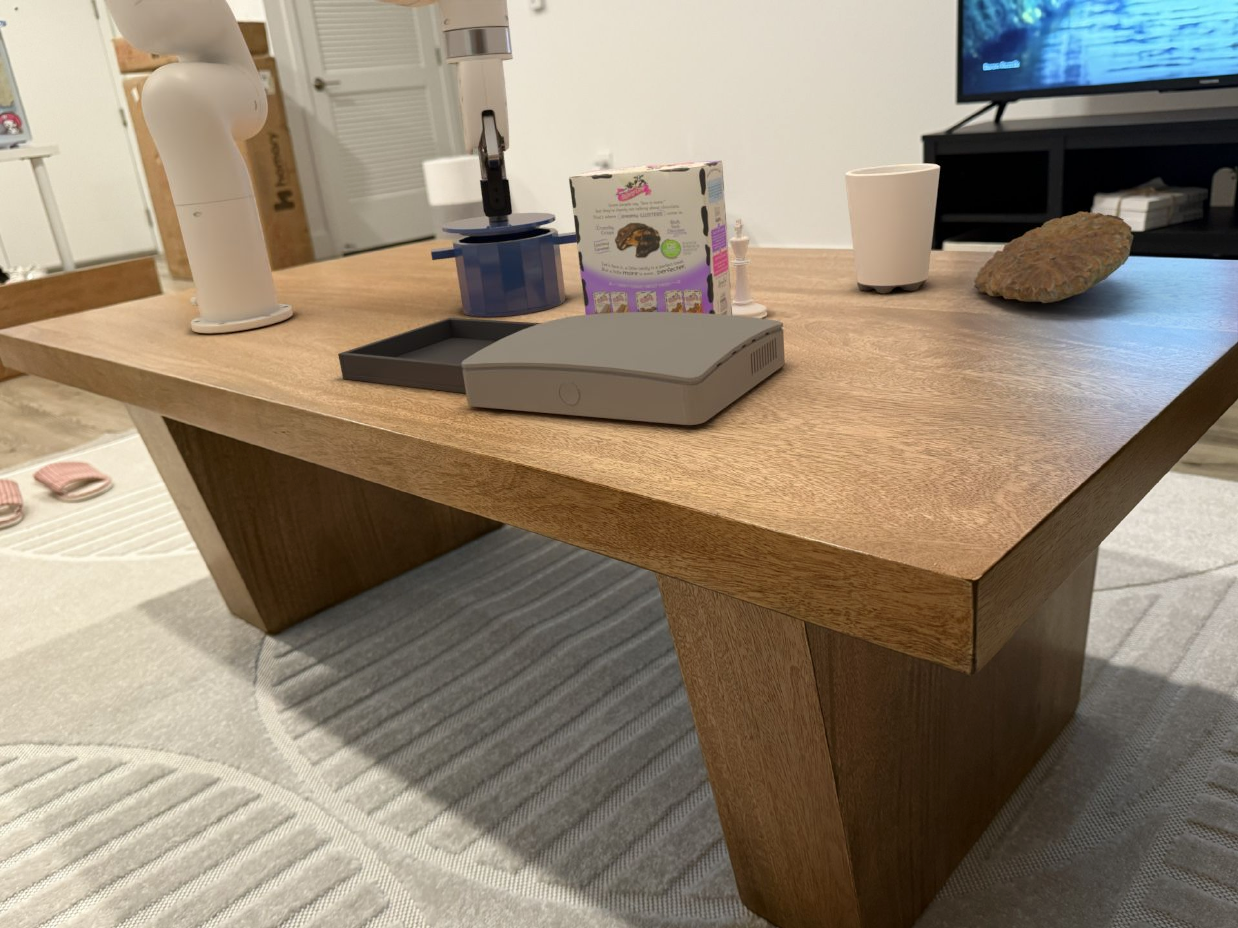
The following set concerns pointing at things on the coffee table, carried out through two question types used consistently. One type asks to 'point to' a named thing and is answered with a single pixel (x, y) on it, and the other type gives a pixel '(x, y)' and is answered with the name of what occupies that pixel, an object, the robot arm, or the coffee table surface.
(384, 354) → the tray
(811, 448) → the coffee table surface
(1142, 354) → the coffee table surface
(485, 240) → the pot
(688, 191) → the candy box
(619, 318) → the electronic device
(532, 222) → the lid
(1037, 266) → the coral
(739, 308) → the chess piece
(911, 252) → the cup
